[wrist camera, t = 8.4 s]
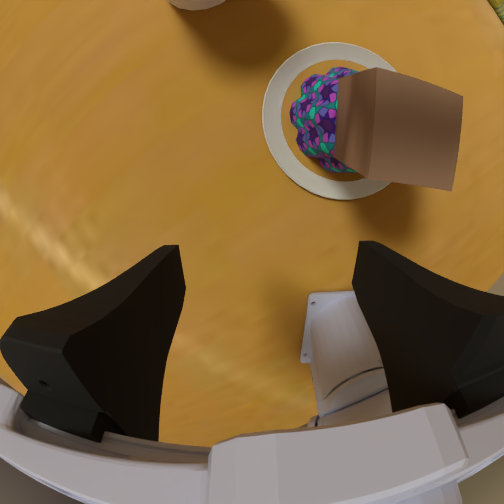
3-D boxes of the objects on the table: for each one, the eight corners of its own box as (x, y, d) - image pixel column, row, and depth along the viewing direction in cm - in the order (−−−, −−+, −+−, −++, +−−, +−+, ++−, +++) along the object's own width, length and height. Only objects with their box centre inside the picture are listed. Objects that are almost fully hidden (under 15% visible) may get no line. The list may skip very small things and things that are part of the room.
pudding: (435, 117, 17) (475, 124, 12) (354, 224, 22) (378, 256, 17) (321, 15, 14) (342, -10, 9) (228, 137, 19) (220, 146, 14)
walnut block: (402, 166, 14) (451, 191, 10) (333, 157, 14) (367, 179, 10) (409, 94, 12) (462, 96, 8) (338, 78, 12) (376, 66, 8)
